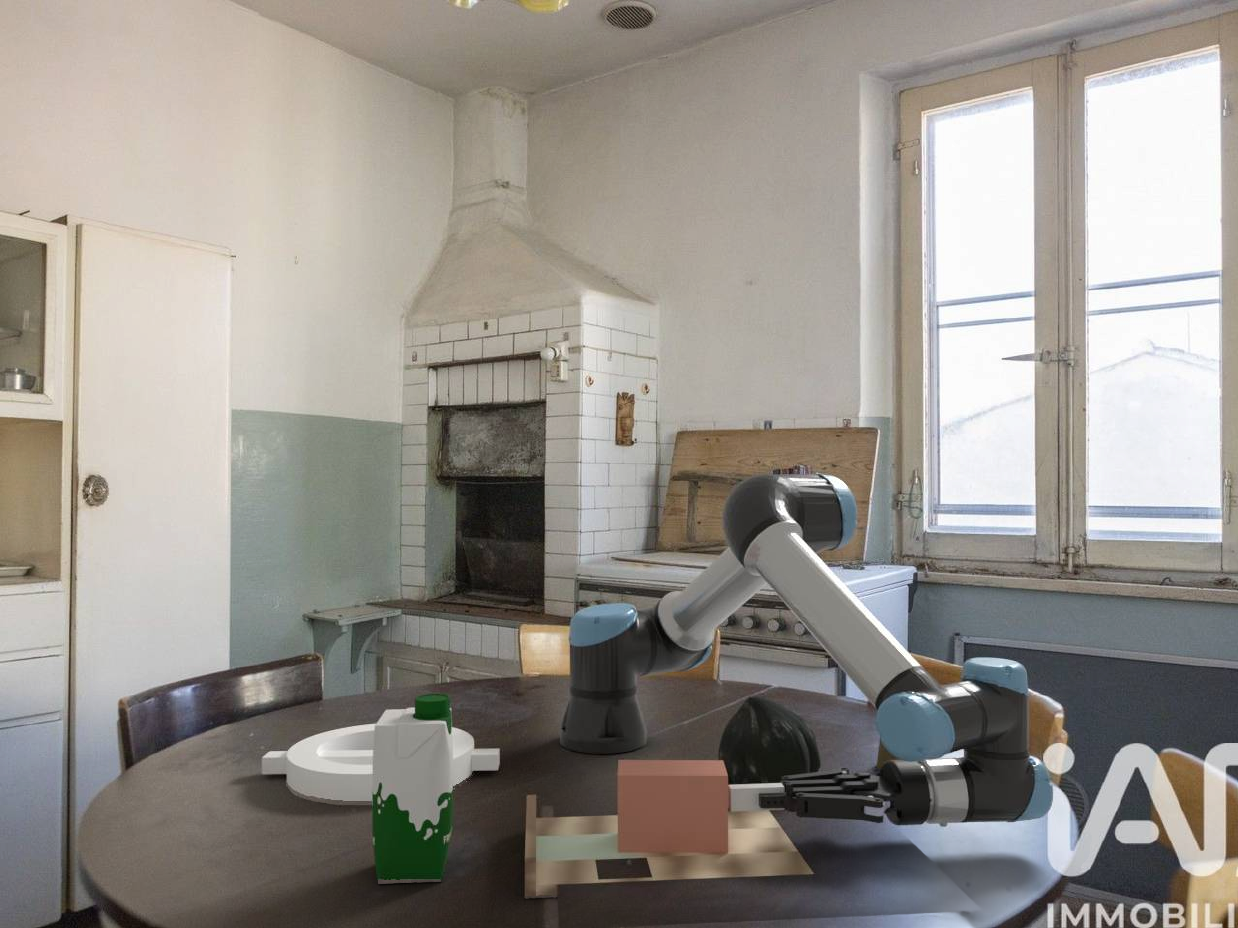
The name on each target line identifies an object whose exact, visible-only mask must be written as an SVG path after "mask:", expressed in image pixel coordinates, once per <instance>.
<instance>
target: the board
mask: <svg viewBox="0 0 1238 928" xmlns="http://www.w3.org/2000/svg"><path fill="white" fill-rule="evenodd" d="M525 812H526V813H525V814H526V815H525V817H526V818H525V842H524V843H525V846H524V847H525V848H524V897H525V896H538V895H559V894H558V885H577V884H578V885H579V884H580V885H581V884H603V883H623V882H625V883H626V882H650V881H651V882H652V881H654V882H655V881H671V880H672V881H675V880H676V881H677V880H696V879H697V880H699V879H702V880H703V879H723V878H725V879H726V878H746V877H747V878H748V877H749V878H750V877H771V876H772V877H773V876H774V877H775V876H777V877H778V876H797V875H798V876H799V875H814V872H813V870H812V869H811V867H810V866H809V865H808V863H807V862H806V860H805V859H804V857H803V856H802V854H801V853H800V852H799V850H798V849H797V847H796V846H795V845H794V844H793V842H792V841H791V839H790V838H789V837H788V835H787V833H786V832H785V831H784V829H783V828H782V826H781V825H780V823H779V822H778V821H777V820H776V818H775V817H774V816H773V814H772V812H771V810H765V811H737V812H731V811H730V810H728V853H660V852H637V855H638V858H637V859H645V858H646V860H647V864H648V867H649V871H650V874H651V877H631V878H630V877H628V878H607V879H606V878H605V879H604V878H602V879H599V876H598V870H597V863H596V860H595V859H588V860H563V861H562V860H561V861H537V862H536V836H558V835H586V834H614V833H618V814H615V815H613V814H612V815H611V814H610V815H588V816H587V815H586V816H585V815H584V816H557V817H555V816H554V817H537V794H527V795H526V811H525Z"/></svg>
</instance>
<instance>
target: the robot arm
mask: <svg viewBox="0 0 1238 928" xmlns="http://www.w3.org/2000/svg"><path fill="white" fill-rule="evenodd" d="M857 516H858V508H857V503H856V500H855V497H854V495H853V492H852V491H851V489H850V488H849V486H848V485H847V484H846V483H845V482H844V481H843V480H841V479H840V478H838V477H836V476H834V475H829V474H823V473H819V472H814V473H792V474H791V473H790V474H787V473H786V474H785V473H781V474H778V473H760V474H755V475H752V476H750V477H746V478H744V479H743V480H742V481H739V483H737V484H736V485H735V486H734V487H733V488H732V489H731V490H730V493H729V494H728V495H727V496H726V500H725V501H724V504H723V508H722V514H721V527H722V531H723V535H724V538H725V541H726V543H727V545H728V547H727V548H726V549H725V550H723V552H722V553H721V554H719V556H717V558H715V559H714V560H713V561H712V562H711V563H710V564H709V565H708V566H706V568H705V569H704V570H703V571H702V572H701V573H700V574H699V575H698V576H696V577H695V578H694V579H693V580H692V581H691V582H690V583H689V584H688V585H687V586H686V587H685V588H684V589H683V590H675V591H674V590H673V591H670V592H668V593H666V594H665V595H664V596H663V597H662V598H661V599H660V600H659V601H658V602H656V604H655V605H654V606H652V607H649V608H645V609H637V608H636V606H634V605H633V604H631V603H628V602H627V603H626V602H613V603H612V602H611V603H609V604H608V603H602V604H596V605H595V604H594V605H591V606H588V607H584V608H581V609H579V610H578V611H576V612H575V613H574V614H573V616H572V617H571V618H570V625H569V634H568V643H569V699H568V702H567V705H566V710H565V712H564V715H563V718H562V722H561V725H560V728H559V745H561V747H564V748H565V749H568V750H571V751H573V752H578V753H583V754H597V755H599V754H600V755H602V754H603V755H606V754H607V755H609V754H621V753H627V752H631V751H635V750H638V749H641V748H643V747H644V746H646V745H647V741H648V738H647V737H648V732H647V727H646V723H645V721H644V716H643V713H642V710H641V708H640V703H639V701H638V700H639V699H638V696H637V693H638V692H637V688H638V687H637V684H638V683H637V678H639V677H644V676H645V677H646V676H650V675H651V676H652V675H657V674H664V673H671V672H684V671H689V670H691V669H693V668H696V667H699V666H701V665H702V664H703V663H704V662H706V661H707V660H708V658H709V656H710V655H711V653H712V650H713V647H712V644H714V642H715V634H716V633H715V632H716V629H717V627H719V626H720V625H721V624H722V623H723V622H724V621H725V620H726V619H728V618H729V617H730V616H731V615H733V614H734V613H735V612H736V611H738V609H740V608H741V607H742V606H743V605H744V604H745V603H746V602H748V601H749V600H750V599H751V598H752V597H753V596H755V595H756V594H757V593H758V592H759V591H760V590H762V589H763V588H764V587H765V586H766V585H768V586H769V587H770V588H771V589H772V590H773V591H774V593H775V594H776V595H777V596H778V597H779V598H780V600H781V601H782V602H783V603H784V604H785V605H786V606H787V607H788V609H789V610H790V611H791V612H792V614H794V616H795V617H796V618H797V619H798V621H800V622H801V624H803V627H805V629H807V631H808V632H809V633H810V634H811V635H812V636H813V638H814V639H816V641H817V642H818V643H819V644H820V646H821V647H822V648H823V649H824V651H825V652H827V654H828V655H829V656H830V657H831V659H832V660H833V661H834V662H835V663H836V664H837V665H838V667H839V668H840V669H841V671H843V672H844V673H845V674H846V676H847V677H848V678H849V679H850V680H851V681H852V682H853V684H854V685H855V686H856V687H857V689H858V690H860V692H861V693H862V694H863V695H864V697H865V698H867V700H868V701H869V703H870V704H872V706H873V707H874V708H875V709H876V715H875V716H876V717H875V726H876V727H875V728H876V732H878V734H879V736H880V737H881V742H882V744H883V745H884V747H885V748H886V749H887V750H888V751H889V752H890V753H891V754H892V755H894V756H895V757H897V758H899V759H901V760H888V761H886V762H885V763H884V764H883V765H882V767H881V770H880V771H879V773H878V774H877V775H874V774H871V773H870V772H867V771H861V772H860V771H858V772H855V773H854V774H850V768H849V767H845V766H842V767H838V768H835V769H832V770H831V769H830V770H823V771H822V770H821V771H818V772H814V773H805V774H797V775H789V776H782V781H781V782H780V783H765V784H736V785H728V810H729V811H731V812H737V811H765V810H769V811H787V812H790V813H794V812H795V816H796V817H798V818H807V819H808V818H813V819H827V820H828V819H831V820H832V819H833V820H853V821H866V822H870V823H876V824H881V823H883V822H884V814H885V816H886V818H887V819H888V821H889V822H890V823H891V824H893V825H895V826H919V825H920V826H921V825H924V824H925V823H926V824H929V825H931V824H932V825H934V824H937V825H939V826H940V827H941V828H946V827H948V824H952V823H953V824H959V823H960V824H961V823H994V822H995V823H997V822H999V823H1000V822H1001V823H1016V822H1023V821H1032V820H1036V819H1037V820H1038V819H1041V818H1043V817H1045V816H1047V815H1048V813H1049V812H1050V810H1051V808H1052V805H1053V800H1054V786H1053V785H1052V784H1051V780H1050V779H1051V775H1050V773H1049V770H1048V768H1047V766H1046V764H1045V763H1044V762H1043V761H1042V760H1041V759H1039V758H1038V757H1036V756H1035V755H1034V756H1033V755H1031V753H1030V752H1029V750H1030V749H1029V748H1030V746H1029V745H1030V742H1029V741H1030V737H1029V736H1030V697H1031V696H1030V693H1029V685H1028V684H1029V683H1028V672H1027V669H1026V668H1025V665H1023V664H1022V663H1020V662H1017V661H1015V660H1011V659H1007V658H998V657H988V656H987V657H973V658H971V657H970V658H968V659H966V660H965V662H963V665H962V671H961V672H962V673H961V675H960V680H961V681H956V682H952V683H948V684H940V683H939V682H938V681H937V680H936V679H935V678H934V677H933V676H932V675H931V674H930V673H929V672H928V671H927V670H926V669H925V667H923V666H922V665H921V664H920V663H919V661H918V660H916V658H914V656H913V655H912V654H911V653H910V652H909V651H908V649H907V648H905V647H904V646H903V644H902V643H901V642H900V641H899V640H898V639H897V638H896V637H895V636H894V635H893V634H892V633H891V631H889V630H888V628H886V627H885V625H884V624H883V623H882V622H881V621H880V620H879V619H878V618H877V617H876V615H875V614H873V613H872V611H871V610H870V609H868V607H867V606H866V605H865V604H864V603H863V602H862V601H861V600H860V599H859V597H858V596H856V595H855V593H854V592H852V590H851V589H850V588H849V587H848V586H847V585H846V584H845V583H844V582H843V580H841V579H840V577H838V575H837V574H836V573H835V572H834V571H833V570H832V569H831V568H830V567H829V566H828V565H827V564H826V562H824V560H823V559H822V558H821V557H820V556H819V555H818V554H819V553H821V552H823V551H829V552H831V551H837V549H841V548H844V547H845V546H846V545H848V544H849V542H851V540H852V538H853V536H854V535H855V532H856V530H857V526H858V523H857V521H858V520H857ZM880 737H879V738H880ZM961 750H963V756H962V757H944V756H946V755H949V754H953V753H954V752H958V751H961Z"/></svg>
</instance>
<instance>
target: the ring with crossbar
mask: <svg viewBox="0 0 1238 928" xmlns="http://www.w3.org/2000/svg"><path fill="white" fill-rule="evenodd" d="M375 725H376V723H369V724H367V723H366V724H360V725H353V726H347V727H341V728H337V729H336V728H335V729H333V730H332V729H331V730H328V731H324V732H321V733H317V734H314V735H312V736H308V737H306V738H304V739H301V740H300V741H298V742H297V743H294V744H293V745H292V746H291V747H289V748H288V750H283V751H282V750H277V751H275V750H271V751H268V752H267V753H266V754H264V755H263V756H262V757H261V774H262V775H286V784H287V783H288V785H289V786H290V787H291V788H292V789H293V790H295V791H297V792H299V793H301V794H304V795H306V796H314V797H317V798H324V799H331V800H343V801H372V785H373V746H374V733H375ZM452 738H453V786H455V785H456V784H459V783H460V782H462V781H463V780H465V779H466V778H468V777H469V776H470V775H471V774H472V772H473V771H474V772H476V771H478V772H479V771H498V770H499V767H500V763H501V761H500V760H501V748H475V739H474V736H473V735H472V734H470V733H468V732H467V731H465V730H463V729H460V728H457V727H453V726H452Z"/></svg>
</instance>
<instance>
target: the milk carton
mask: <svg viewBox="0 0 1238 928" xmlns="http://www.w3.org/2000/svg"><path fill="white" fill-rule="evenodd" d="M450 699H451V698H450V695H447V694H443V693H429V694H427V693H426V694H421V695H418V696H416V697H415V698H414V707H407V708H403V709H401V708H400V709H399V708H398V709H393V708H392V709H391V708H390V709H385V711H384V712H383V713H382V714H381V716H380V718H379V719H378V721H377V722H376V723H375V724H376V725H375V733H374V746H373V785H372V806H371V807H372V808H371V810H372V812H371V815H372V818H371V819H372V823H371V824H372V827H371V829H372V830H371V831H372V832H371V833H372V847H373V853H374V864H375V865H374V866H375V872H376V874H375V875H376V880H377V879H382V880H383V879H384V880H387V879H388V880H391V879H396V880H400V879H441V878H442V879H443V877H442V876H444V873H443V872H445V869H446V865H447V861H446V860H448V857H447V856H449V849H450V844H451V839H452V838H451V837H452V830H453V823H454V822H453V821H454V820H453V819H454V789H453V738H452V727H453V717H452V708H451V707H450V705H451V701H450ZM445 864H446V865H445ZM444 868H445V869H444Z"/></svg>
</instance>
